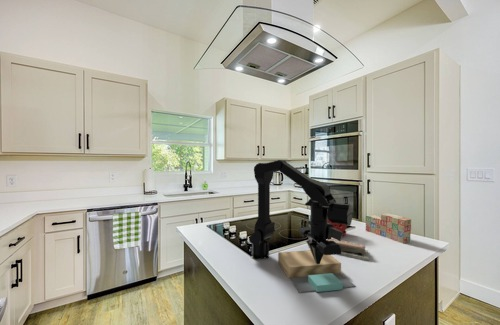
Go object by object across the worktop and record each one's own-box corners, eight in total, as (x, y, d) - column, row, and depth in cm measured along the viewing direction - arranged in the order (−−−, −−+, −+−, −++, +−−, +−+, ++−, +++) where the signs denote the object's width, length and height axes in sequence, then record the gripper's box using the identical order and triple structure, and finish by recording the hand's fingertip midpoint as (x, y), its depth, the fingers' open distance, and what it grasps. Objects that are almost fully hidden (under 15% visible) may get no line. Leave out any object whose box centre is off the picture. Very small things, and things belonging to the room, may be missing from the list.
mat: (299, 292, 67) (299, 291, 67) (289, 278, 75) (289, 277, 75) (355, 286, 71) (355, 285, 71) (340, 273, 79) (340, 273, 79)
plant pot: (318, 230, 127) (319, 210, 127) (339, 229, 129) (340, 210, 129) (329, 238, 114) (330, 216, 114) (352, 238, 116) (353, 215, 116)
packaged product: (324, 242, 98) (327, 235, 107) (323, 252, 98) (327, 245, 107) (369, 250, 89) (368, 242, 98) (368, 262, 89) (368, 253, 98)
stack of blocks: (365, 230, 129) (365, 210, 128) (372, 229, 131) (372, 209, 131) (403, 243, 109) (404, 219, 109) (410, 242, 112) (411, 218, 112)
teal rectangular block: (308, 275, 73) (307, 281, 73) (316, 285, 67) (316, 292, 67) (332, 273, 75) (331, 278, 75) (342, 283, 69) (342, 289, 69)
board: (289, 278, 75) (289, 267, 75) (278, 262, 87) (278, 252, 87) (340, 273, 79) (341, 263, 79) (323, 258, 91) (323, 249, 90)
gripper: (357, 226, 68) (355, 275, 68) (325, 212, 86) (324, 250, 86) (325, 228, 66) (323, 279, 66) (299, 213, 84) (298, 252, 84)
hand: (317, 263), depth 76 cm, fingers closed
